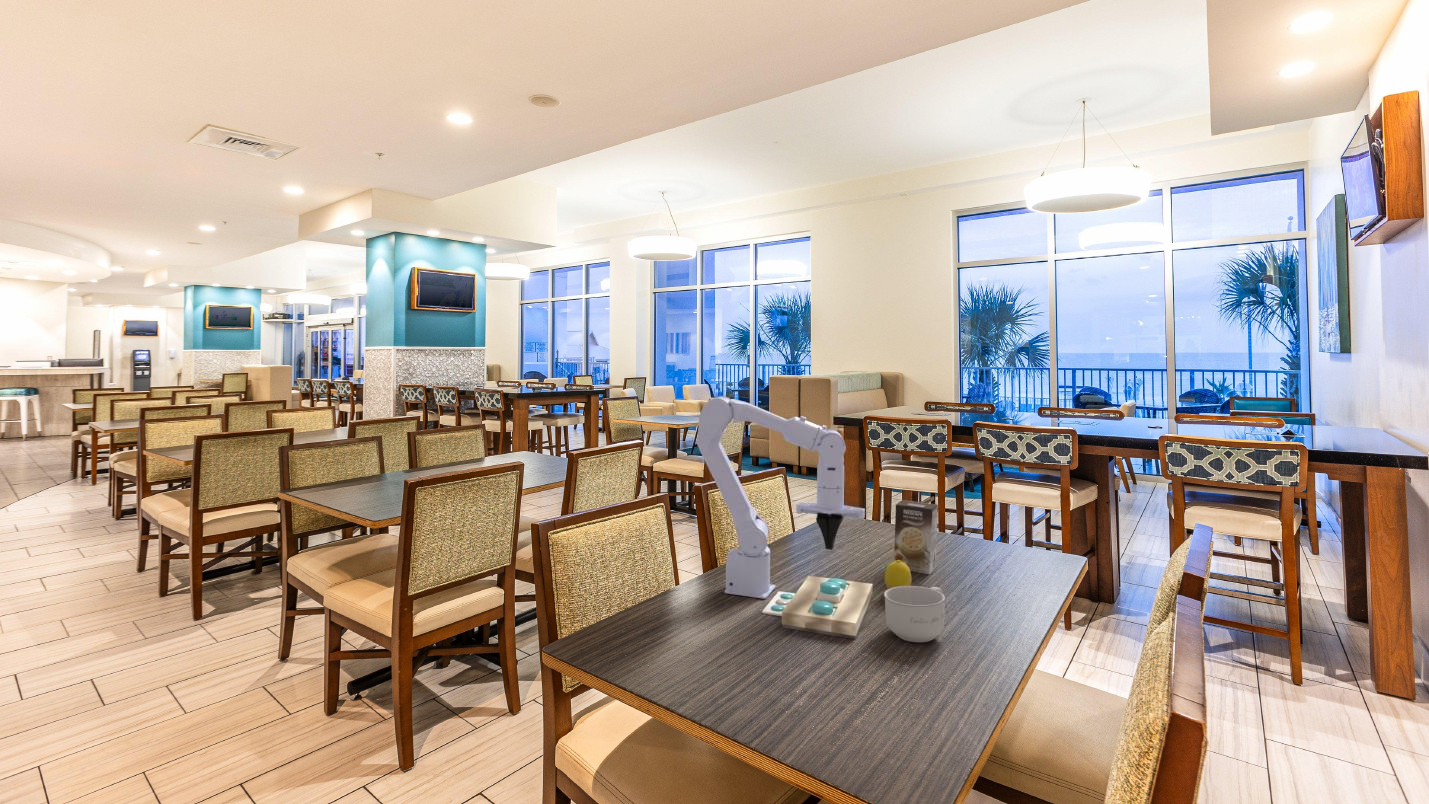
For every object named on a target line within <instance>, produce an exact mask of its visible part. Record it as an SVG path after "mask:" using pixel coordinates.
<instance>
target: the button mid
mask: <svg viewBox="0 0 1429 804" xmlns="http://www.w3.org/2000/svg"><path fill="white" fill-rule="evenodd" d="M842 598H843V589H841V588H840V585H839V584H838V583H835V582H822V583H821V584H820V589H819V591H818V592H817V600H821V601H828V602H835V603H840V602H841V600H842Z"/></svg>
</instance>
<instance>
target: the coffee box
mask: <svg viewBox="0 0 1429 804" xmlns="http://www.w3.org/2000/svg"><path fill="white" fill-rule="evenodd" d="M938 509H939V505H938V504H936V503H935V504H934V503H928V502H923V501H913V500H907V499H901V500H899V501H898V502H897V503H896V504H895V516H894V517H895V519H894V520H895V521H894V550H893V552H894V553H893V562H894V561H896V560H900V561H901V562H903V563H905V564H906V565H907V566H908V567H909V569H910V572H914V573H920V574H925V575H931V573H933V572H934V570H935V569H936V568H937V567H936V566H937V565H936V563H937V542H938V540H937V539H938V538H937V537H938V535H937V533H938V513H939V511H938Z"/></svg>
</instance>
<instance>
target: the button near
mask: <svg viewBox="0 0 1429 804" xmlns="http://www.w3.org/2000/svg"><path fill="white" fill-rule="evenodd" d="M835 612H836V609H835V608H833V604H831V603H829V602H825V601H817V602H814V603H813V604H812V609H811V611H810V613H813V614H820V615H826V616H834V614H835Z"/></svg>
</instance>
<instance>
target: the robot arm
mask: <svg viewBox="0 0 1429 804" xmlns="http://www.w3.org/2000/svg"><path fill="white" fill-rule="evenodd" d="M732 421H733V424H738V423H742V422H749V423H753V424H756V425H758V426H761V427H764V428H766V429H768V430H772V431H776V432H778V433H781V434H782V436H783V438H784V440H785V442H787V443H790V444H793V445H795V446H798V447H800V448H803V449H805V450H807V451H810V452H818V463H817V464H816V465H817V468H816V469H817V471H816V473H817V474H816V477H817V478H816V479H817V481H816V502H798V503H796V505H795V507H796V508H795V509H796V511H795V512H796V514H810V515H811V514H812V515H813V514H814V515H816V518H815V522H816V523H817V525H818V527H819V529H820V532H821V534H822V539H823V541H824V547H825V550H831V551H832V550H833V549H834V547H835V540H836V536H837V534H838V531H839V528H840V525H841V524H842V521H843V520H844V519H845V518H852V519H853V518H854V519H855V518H856V519H858V520H864V519H865V515H866V512H865V511H866V510H865V509H866V508H862V507H856V506H850V505H845V503H844V502H845V501H844V500H845V499H844V498H845V495H844V494H845V493H844V492H845V465H844V462H845V458H844V455H845V453H846V450H847V446H846V442H845V440H844V437H843V436H842V435H841V434H840V432H838V431H836V430H835V429H834V428H828V426H827V425H825V424H823V425H822V426H821V425H818V424H815V422H814V423H813V422H811V421H808V420H807V417H805V416H803V415H801V416H800V417H798V416H792V417H791V418H789V419H788V418H787V419H786V418H784V417H782V416H779V415H778V414H774V413H773V412H771V411H768V410H765V409H763V408H760V407H759V406H756V405H754V404H751V403H749V402H746V401H742V400H739V399H734V398H732V399H731V398H730V397H728V396H724V395H720V396H715V397H714V398H711V399H710V400H708V401H706V403H705V404H704V405H703V407H702V409H701V412H699V415H698V428H697V437H696V439H697V440H696V445H697V447H698V449H699V452H700V453H701V456H702V458H703V460H704V462H705V464H706V467H707V468H708V470H709V473H710V474H711V476H712V478H713V481H715V484H716V487H717V488H718V490H719V492H720V494H721V496H722V499H723V501H724V503H725V505H726V506H727V508H728V511H729V512H730V514H731V518H732V521H733V526H734V529H735V531H736V534H737V544H738V547H737V549H736V548H734V549H733V548H731V549H730V550H729V551H728V554H727V556H726V560H725V590H724V593H725V594H729V595H734V596H735V595H736V596H742V597H750V598H757V599H765V600H766V599H767V598H768V597H769V595H770V594H771V593H772V592H773V591H774V590H775V588H776V584H773V583H771V548H769V547H768V538H769V535H770V528H769V524H768V523H767V522H766V521H765V519H763V518H762V517H761V516H760V515H759V514H758V511H757V510H756V509H755V507H754V506H753V505H752V504H751V502H750V499H749V498H748V496H747V493H746V491H745V489H744V488H743V485H742V484H741V481H740V479H739V477H738V475H737V473H736V471H735V469H734V467H733V465H732V462H731V461H730V459H729V457H728V455H727V453H726V450H725V448H724V446H723V445H722V439H723V437H724V433H725V432H726V429H727V427H728V426H729V424H730V423H731V422H732Z"/></svg>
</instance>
